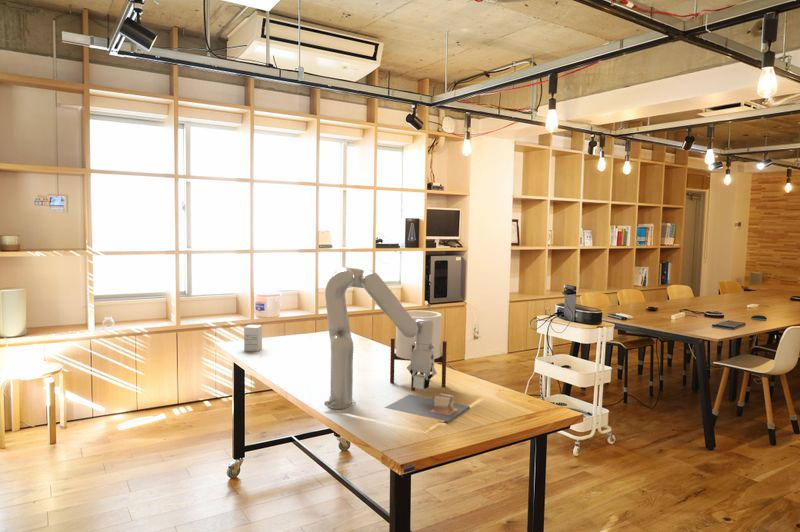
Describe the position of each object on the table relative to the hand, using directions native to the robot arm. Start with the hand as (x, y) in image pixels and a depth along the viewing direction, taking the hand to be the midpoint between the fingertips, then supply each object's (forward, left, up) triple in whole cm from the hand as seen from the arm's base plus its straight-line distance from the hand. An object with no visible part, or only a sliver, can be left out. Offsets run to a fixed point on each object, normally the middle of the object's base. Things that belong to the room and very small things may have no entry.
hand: (420, 386), depth 244 cm
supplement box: (+34, +137, -8) cm, 141 cm away
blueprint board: (-6, -7, -7) cm, 12 cm away
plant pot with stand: (+24, +14, -8) cm, 29 cm away
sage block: (0, 0, 0) cm, 0 cm away
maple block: (-6, -15, -6) cm, 17 cm away
